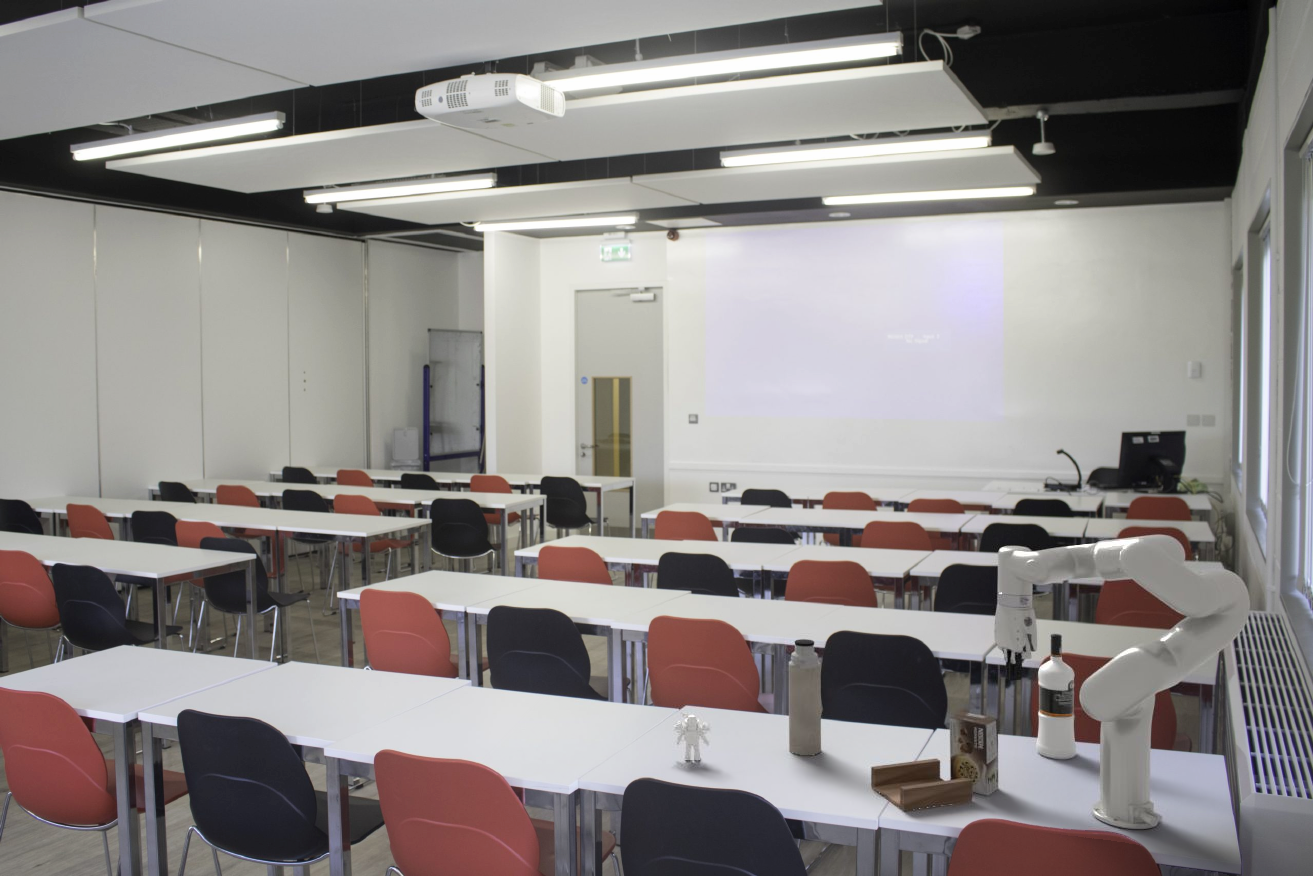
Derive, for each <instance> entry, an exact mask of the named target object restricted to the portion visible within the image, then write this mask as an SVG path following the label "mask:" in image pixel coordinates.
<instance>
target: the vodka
mask: <svg viewBox="0 0 1313 876" xmlns="http://www.w3.org/2000/svg"><path fill="white" fill-rule="evenodd" d="M1062 637H1063V636H1062V635H1061V633H1060V634H1059V633H1052V634H1050V660H1048V661H1046V662H1045V663H1043V664H1041V665H1040V666H1039V668H1038V672H1037V674H1038V675H1037V676H1038V677H1037V678H1038V680H1037V681H1038V682H1037V683H1038V713H1037V715H1038V731H1037V739H1036V742H1035V743H1036V744H1035V745H1036V746H1035V748H1036V751H1037V753H1038V754H1040V755H1041V756H1043V757H1046V758H1049V759H1052V760H1053V759H1054V760H1061V761H1062V760H1070V759H1073V758H1075V756H1076V755H1077V744H1076V740H1075V729H1074V727H1075V725H1074V723H1075V722H1074V721H1075V718H1076V717H1075V713H1074V712H1075V710H1074V709H1075V708H1074V707H1075V704H1074V701H1075V699H1074V697H1075V690H1074V687H1075V680H1074V679H1075V671H1074V670H1073V668H1072V667H1071V666H1070V665H1068V664H1067V663H1066V662H1064V661H1063V657H1062V653H1063V652H1062V649H1063V645H1062V642H1063V641H1062V640H1063V639H1062Z"/></svg>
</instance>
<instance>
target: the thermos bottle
mask: <svg viewBox="0 0 1313 876" xmlns="http://www.w3.org/2000/svg"><path fill="white" fill-rule="evenodd" d="M794 645H795V646H794V651H793V652H791V655H790V656H791V657H790V661H788V749H789V752H790V751H791V752H790V753H792V752H793V753H795V754H794V755H797V754H800V755H799V756H802V755H812V756H814V755H813V754H817V753H819V752H820V751H821V752H822V711H821V710H822V697H821V694H822V693H821V690H822V689H821V688H822V687H821V686H822V685H821V683H822V682H821V681H822V680H821V677H822V675H821V674H822V673H821V670H822V669H821V667H822V666H821V665H822V664H821V662H820V661H819V660H818V659H819V655H818V653H817V652H815V646H814V645H815V641H814V640H812V639H807V638H806V639H805V638H801V639H796V640H794ZM821 752H820V753H821ZM793 753H792V754H793ZM820 753H819V754H820ZM817 755H818V754H817Z"/></svg>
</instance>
